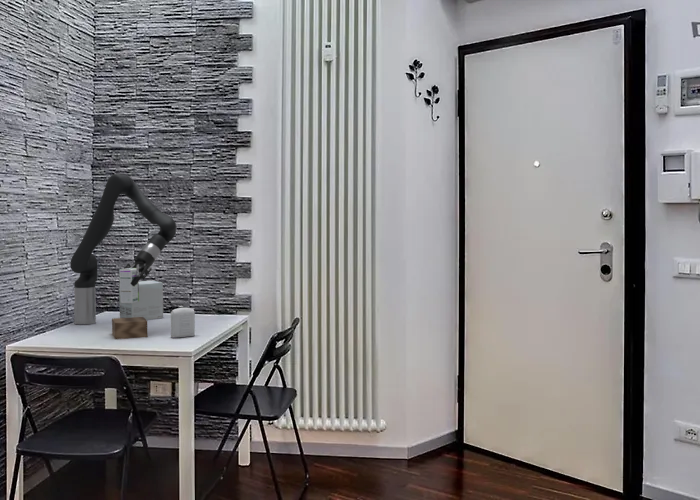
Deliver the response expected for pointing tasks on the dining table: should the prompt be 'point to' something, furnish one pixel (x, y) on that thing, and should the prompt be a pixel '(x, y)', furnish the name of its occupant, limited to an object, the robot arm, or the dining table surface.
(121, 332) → the walnut block
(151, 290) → the supplement box
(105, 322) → the dining table surface
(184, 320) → the photo printer
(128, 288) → the syrup box
